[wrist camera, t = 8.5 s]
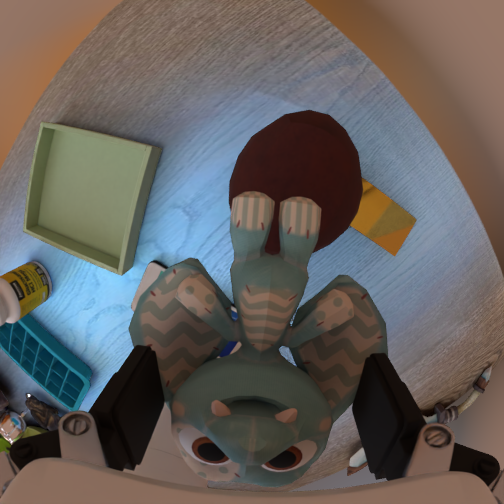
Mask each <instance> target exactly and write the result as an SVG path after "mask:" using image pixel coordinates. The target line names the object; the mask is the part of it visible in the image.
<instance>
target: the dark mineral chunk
mask: <svg viewBox="0 0 504 504" xmlns="http://www.w3.org/2000/svg"><path fill="white" fill-rule="evenodd" d="M28 399H29V400H26V402H25V404H26V406H27V407H28V409H29V410H30V411H31V412H30V413H31V415H32V416H33V417H34V419H35V420H36V421H37V422H38V423H39V424H40V425H41V426H42V427H43V428H48V429H49V430H50V431H53V430H56V429H59V421H60V419H61V418H62V417H59V416H58V410H57V409H56V408H53V407H51V406H50V405H48V404H46V403H44V402H42V401H39V400H38V399H37V398H36V397H34V396H33V395H31V396H30V397H29V398H28Z"/></svg>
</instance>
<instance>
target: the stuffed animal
mask: <svg viewBox="0 0 504 504" xmlns="http://www.w3.org/2000/svg"><path fill="white" fill-rule="evenodd" d="M274 205H275V201H273V200H272V199H271V198H269V197H268V196H267V195H266V194H264V193H260V192H256V191H251V192H244V193H242V194H240V195H238V196H237V197H235V198H233V203H232V210H231V221H230V234H231V239H232V244H233V248H234V262H233V264H232V266H231V268H230V274H231V282H232V292H233V299H234V305H235V307H236V310H237V315H238V318H237V319H236V321H234V320H232V311H231V302H230V300H229V299H228V298H227V297H226V295H225V294H224V293H223V292H222V290H221V289H220V288H219V287H218V285H217V284H216V283H215V282H214V280H213V279H212V278H211V276H210V275H209V274H208V272H207V271H206V269H205V268H204V266H203V265H202V264H201V263H200V261H199V260H198V259H195V258H188V259H186V260H184V261H182V262H180V263H177V264H175V265H173V266H171V267H169V268H167V269H166V270H165V271H164V272H163V273H162V274H161V275H160V276H159V277H158V278H157V279H156V280H155V281H154V282H153V283H152V284H151V285H150V286H149V287H148V288H147V290H146V291H145V292H144V293H143V294H142V295H141V296H140V297H139V300H138V303H137V306H136V308H135V311H134V314H133V317H132V320H131V323H130V326H129V332H130V336H131V339H132V342H133V346H134V347H135V346H136V345H144V346H150V347H151V348H152V350H154V351H155V352H156V356H157V362H158V368H159V373H160V378H161V384H162V389H163V394H164V399H165V403H166V405H167V406H168V408H169V410H170V413H171V433H172V435H173V438H174V441H175V443H176V445H177V446H178V448H179V449H180V452H181V455H182V457H183V458H184V460H185V462H186V464H187V465H188V466H189V467H190V468H191V469H192V470H193V472H194V473H196V474H197V475H199V476H201V477H203V478H204V479H206V480H210V481H217V482H240V483H249V484H257V485H260V486H265V487H281V486H284V485H287V484H290V483H292V482H294V481H295V480H297V479H298V478H300V477H302V475H303V474H304V473H305V472H306V471H307V470H308V469H309V468H310V466H311V464H312V463H314V462H315V461H316V460H317V459H318V458H319V456H320V455H321V454H322V452H323V451H324V450H325V448H326V444H327V441H328V437H329V434H330V431H331V428H332V425H333V423H334V422H335V421H336V420H337V419H338V418H339V417H340V416H341V415H342V414H343V413H344V412H345V411H346V410H347V408H348V407H349V406H350V405H351V404H352V403H353V402H354V399H355V395H356V392H357V389H358V385H359V382H360V378H361V374H362V370H363V367H364V363H365V359H366V358H367V357H370V355H371V354H372V353H386V355H387V357H388V346H387V333H386V323H385V321H384V319H383V318H382V316H381V314H380V312H379V311H378V309H377V307H376V305H375V304H374V302H373V300H372V298H371V297H370V295H369V293H368V292H367V290H366V289H365V288H363V287H362V286H361V285H360V284H358V283H357V282H356V281H354V280H353V279H352V278H351V277H349V276H348V275H338V276H337V277H336V278H335V279H334V280H332V281H331V282H330V283H329V284H328V285H327V286H326V287H325V288H324V289H323V290H322V291H320V292H319V293H318V294H317V295H315V296H314V297H313V298H311V299H310V300H309V301H307V302H306V303H305V304H304V305H302V306H301V307H300V308H298V309H297V307H298V305H299V303H300V301H301V299H302V296H303V294H304V290H305V287H306V284H307V282H308V279H309V277H308V271H307V266H308V261H309V259H310V257H311V255H312V252H313V250H314V248H315V245H316V243H317V241H318V235H319V229H320V219H321V208H320V207H319V206H318V205H317V204H316V203H315V202H314V201H313V200H311V199H308V198H304V197H291V198H289V199H287V200H284V201H282V202H280V211H279V238H280V253H279V254H274V255H271V254H269V253H266V252H265V245H266V242H267V239H268V235H269V232H270V228H271V224H272V220H273V214H274ZM296 309H297V312H296V315H295V318H294V321H293V323H292V326H291V325H290V322H291V319H292V317H293V315H294V313H295V311H296ZM229 341H239V342H240V343H241V344H242V346H241V347H240V348H239V349H238V350H237V351H236V352H234V353H232V354H230V355H228V356H224V357H220V358H217V357H218V356H219V354H220V353H221V352H222V350H223V349H224V348H225V346H226V345H227V344H228V342H229ZM281 346H284V347H289V349H290V351H291V354H292V356H293V359H294V361H295V363H296V366H297V367H296V366H294V365H293V364H291V363H290V362H289V361H288V360H286V359H285V358H284V357H283V356H282V355H281V353H280V351H279V348H280V347H281Z"/></svg>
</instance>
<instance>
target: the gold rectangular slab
mask: <svg viewBox="0 0 504 504" xmlns="http://www.w3.org/2000/svg"><path fill="white" fill-rule="evenodd" d="M362 184H363V193H362V197H361V201H360V205H359V209H358V213H357V214H356V216H355V218H354V219H353V221H352V223H351V224H350V226H351V227H353V228H354V229H356V230H357V231H359V232H360V233H362V234H363V235H365V236H366V237H368V238H369V239H371V240H372V241H373V242H375V243H376V244H378V245H379V246H381V247H382V248H383V249H385V250H386V251H388V252H389V253H391V254H392V255H393V256H395V255H396V254H397V252H398V250H399V249H400V247H401V246H402V244H403V242H404V241H405V239H406V237H407V236H408V234H409V232H410V231H411V229H412V227H413V226H414V224H415V222H416V219H415V218H414V217H413V216H412V215H410V214H409V213H408V212H407V211H405V210H404V209H403V208H402V207H400V206H399V205H398V204H397V203H395V202H394V201H393V200H392V199H390V198H389V197H388V196H386V195H385V194H384V193H382V192H381V191H380V190H378V189H377V188H376V187H374V186H373V185H372V184H370V183H369V182H368V181H366V180H365V179H364V178H362Z"/></svg>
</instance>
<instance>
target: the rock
mask: <svg viewBox="0 0 504 504" xmlns="http://www.w3.org/2000/svg"><path fill="white" fill-rule="evenodd" d="M8 404H9V403H8V401H7V399H6V398H5V396H4V395H3V393H2V392H1V390H0V410H2V409H4V408H5V407H6V406H7V405H8Z"/></svg>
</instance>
